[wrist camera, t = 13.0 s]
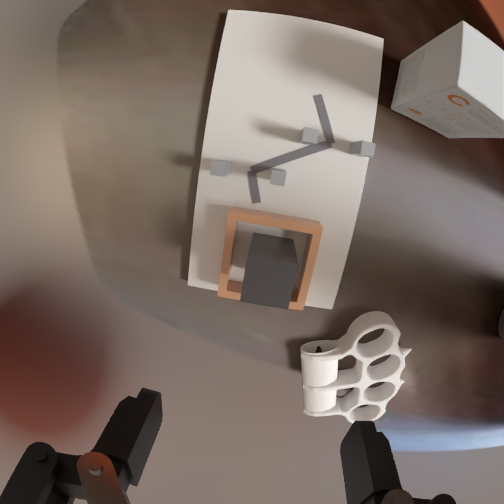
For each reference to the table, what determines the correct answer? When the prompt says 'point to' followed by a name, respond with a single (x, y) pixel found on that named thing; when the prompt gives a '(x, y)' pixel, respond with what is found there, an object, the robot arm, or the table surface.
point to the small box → (454, 85)
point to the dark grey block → (270, 271)
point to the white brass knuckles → (353, 371)
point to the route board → (286, 141)
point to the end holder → (278, 221)
